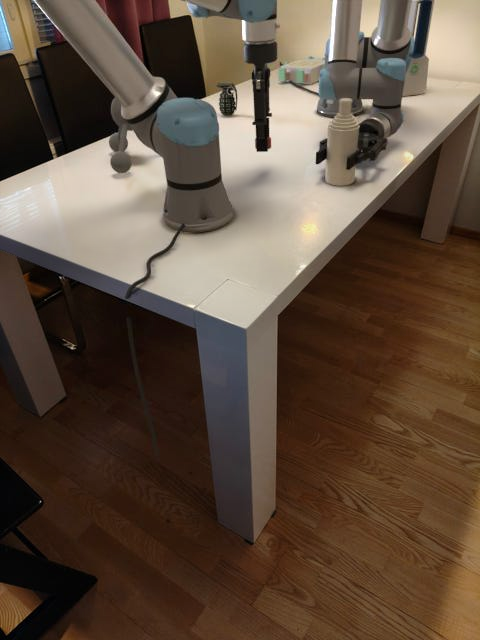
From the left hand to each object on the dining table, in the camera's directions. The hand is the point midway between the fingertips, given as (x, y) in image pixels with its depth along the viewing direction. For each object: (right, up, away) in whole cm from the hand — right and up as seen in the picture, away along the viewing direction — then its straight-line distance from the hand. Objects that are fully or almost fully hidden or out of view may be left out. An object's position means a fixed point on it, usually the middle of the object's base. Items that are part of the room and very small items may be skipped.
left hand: (263, 147), depth 122 cm
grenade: (-10, +28, +48) cm, 56 cm away
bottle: (+19, -8, -1) cm, 21 cm away
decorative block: (+22, +60, +86) cm, 108 cm away
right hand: (+16, -6, -8) cm, 19 cm away
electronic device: (+56, +41, +60) cm, 91 cm away
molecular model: (-33, +3, +17) cm, 37 cm away
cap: (0, +2, -1) cm, 2 cm away
